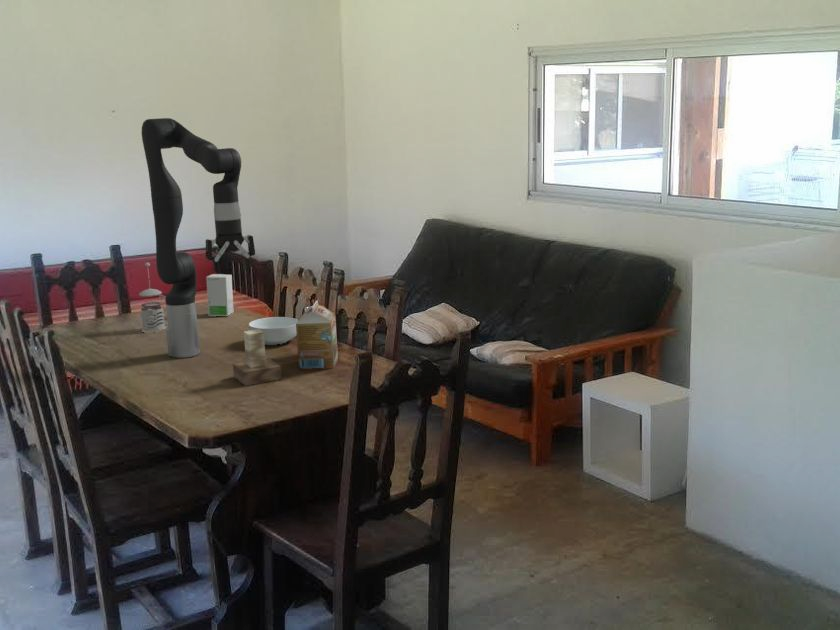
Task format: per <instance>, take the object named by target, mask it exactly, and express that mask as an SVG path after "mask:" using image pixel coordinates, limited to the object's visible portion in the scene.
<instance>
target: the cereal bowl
mask: <svg viewBox="0 0 840 630" xmlns="http://www.w3.org/2000/svg"><path fill="white" fill-rule="evenodd" d="M298 320H299V319H297V318H293V317H287V316H286V317H285V316H271V317H263V318H258V319H255V320H252V321H250V322H249V323H248V331H250V330H257V329H259V330H261V331H263V332H264V342H265V346H266V345H267V346H278V345H277V344H280V345H284V344H286V343H287V342H288V341H291V340H293V339H294V338H295V337H297V332H296V323H297V322H298ZM283 343H284V344H283Z"/></svg>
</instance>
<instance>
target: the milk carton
mask: <svg viewBox="0 0 840 630" xmlns="http://www.w3.org/2000/svg"><path fill="white" fill-rule="evenodd" d="M311 306H312V308H310V309H309V310H307V311H306V312H305V311H304V313H303V314H302V315H301V316H300V317H299V319H297V320H298V322H297V323H296V332H297V335H296V343H297V344H296V345H297V357H298V369H299V370H312V368H323V369H335V367H336V364H337V362H338V360H339V354H338V353H339V352H338V339H337V335H338V334H337V321H336V319H337V318H336V314H335V313H334V312H333V311H331V310H329V309H328V308H326V307H325V306H324V307H325V308H324V307H322V306H323V305H320V304H319V300H318V299H317V300H315V302H314V304H313V305H311ZM334 366H335V367H334Z"/></svg>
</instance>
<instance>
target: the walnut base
mask: <svg viewBox="0 0 840 630" xmlns="http://www.w3.org/2000/svg"><path fill="white" fill-rule="evenodd" d="M232 369H233V377H234V378H235V379H236V380H237V379H238V381H239V382H240V383H241V384H242V385H243V386H246V387H247V386H250V385H252V384H253V385H258V384H262V383H268V382H269V381H270V382H273V380H276V381H280V380H279V379H281V380H282V366H281V365H280V364H278V363H277V362H275V361H274V360H272V359H271V358H269V357H266V366H260V367H254V368H250V367H249V366H248V365H246V361H242V362H235V363H232ZM253 385H252V386H253Z"/></svg>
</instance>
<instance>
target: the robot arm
mask: <svg viewBox="0 0 840 630" xmlns="http://www.w3.org/2000/svg"><path fill="white" fill-rule="evenodd" d="M141 140H142V145H143V149H144V150H143V151H144V156H145V160H146V165H147V171H148V178H149V185H150V198H151V206H152V213H153V219H154V232H155V251H156V252H155V255H156V256H155V257H156V260H155V262H156V263H155V264H156V271H157V275H158V277H159V279H160V280H161V282H162V283H164V284H166V285H172V286H171V288H170V290H169V291H168V292H167V293H166V295H164V296H165V298H164V299H165V301H164V302H165V311H166V313H167V314H166V320H167V326H166V327H167V328H166V331H165V333H166V342H167V343H166V346H167V353H168V355H167V356H168V357H169V356H171V357H172V358H176V359H177V358H178V359H180V358H181V359H182V358H191V357H195V356H198V355H200V354H201V352H200V351H201V350H200V349H201V348H200V340H199V339H200V338H199V337H200V336H199V329H198V316H197V306H196V294H197V290H198V289H197V271H196V269H197V267H196V263H195V261H194V259H193V257H192V256H191V254H189V253H188V252H186V251H179V252H177V235H178V233H179V228H180V225H181V222H182V219H183V214H184V207H183V206H184V204H183V197H182V196H183V195H182V190H181V188H180V186H179V184H178V183H177V181H176V180H175V179H174V177H173V176H172V175H171V173H170V172H169V170H168V169H167V167H166V165H165V162H164V159H163V154H162V150H165V149H172V148H180V149H182V150H183V152H184V155H185V156H186V157H187V158H188V159H190V160H192V161H193V162H196V163H198V164H200V165H201V166H202V167H203V169H205V171H206V172H208V173H210V174H214V175H220V174H223V178H222V180H220V181H217V182H215V183H214V184H213V186H212V193H213V194H212V195H213V203H214V204H213V217H214V227H215V238H214V239H209V238H207V239H205V258H206V260H208V261H211V262H212V265H213V272H214V273H215V274H221V265H220V262H219V260H220V258H221V257H222V255H223V254H225V253H227V254H228V253H231V252H232V253H235V252H239V253H240V254H241V255H242V256H243V258H242V261H243V263H242V264H243V271H245V272H247V271H249V269H250V268H251V262H250V258H251V257H252V256H255V255H256V249H255V241H254V236H253V235H251V234H247V235H245V236H244V235H243V232H242V231H243V229H242V228H243V227H242V219H241V218H242V217H241V216H242V214H241V208H240V204H239V194H238V193H239V192H238V191H239V190H238V186H239V180H240V176H241V175H240V173H241V171H242V169H241V168H242V158H241V155H240V153H239V151H238V150H237V149H236V148H233V147H232V148H231V147H229V148H227V147H226V148H218V147H217V146H216V145H215V144H214V143H213V142H210V141H208V140H206V139H204V138H202V137H200V136H197V135H195V134H194V133H193V132H191V131H190V130H189V129H187V128H186V127H184V126H183V124H181V123H180V122H179V121H177V120H176V119H173V118H169V117H163V118H149V119H148V118H147V119H145V120H144V121H143V123H142V125H141ZM244 241H245V244H247V249H248V252H247V250H245V248H244V247H243V246H242V245H243V243H244ZM215 244H216V245H217V249H216V250H215V253H214V254H213V247H214V246H215ZM171 357H170V358H171Z"/></svg>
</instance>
